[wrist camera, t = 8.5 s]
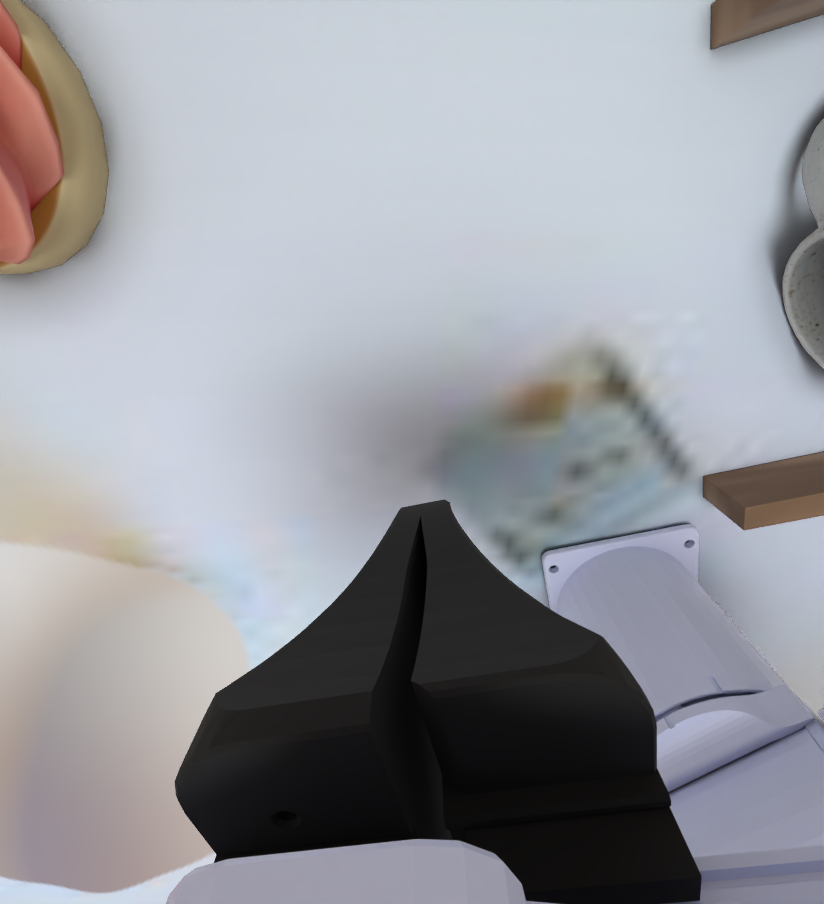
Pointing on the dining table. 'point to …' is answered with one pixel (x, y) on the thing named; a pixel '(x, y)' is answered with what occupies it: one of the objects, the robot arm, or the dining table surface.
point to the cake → (45, 148)
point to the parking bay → (797, 479)
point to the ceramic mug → (809, 259)
